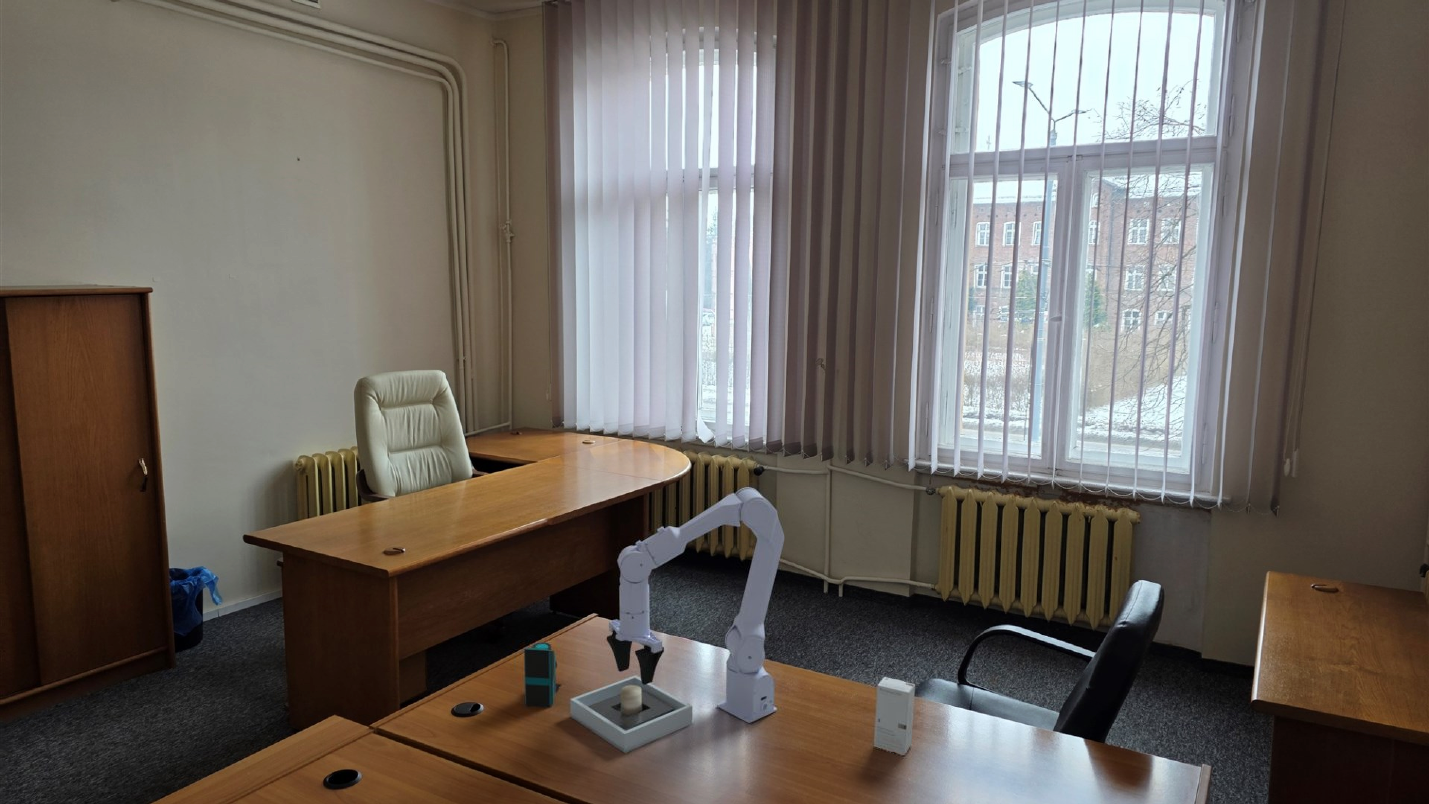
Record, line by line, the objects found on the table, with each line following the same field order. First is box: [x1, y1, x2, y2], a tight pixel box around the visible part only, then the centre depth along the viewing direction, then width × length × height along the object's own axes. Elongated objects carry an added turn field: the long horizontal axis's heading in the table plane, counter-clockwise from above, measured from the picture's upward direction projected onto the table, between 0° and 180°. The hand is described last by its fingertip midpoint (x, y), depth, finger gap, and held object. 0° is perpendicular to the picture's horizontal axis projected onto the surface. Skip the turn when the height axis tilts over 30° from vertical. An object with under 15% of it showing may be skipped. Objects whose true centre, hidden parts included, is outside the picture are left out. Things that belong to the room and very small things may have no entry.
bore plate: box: [587, 690, 674, 731], centre depth 162 cm, size 12×12×2 cm
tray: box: [569, 675, 693, 754], centre depth 162 cm, size 18×16×4 cm
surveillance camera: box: [523, 642, 562, 709], centre depth 171 cm, size 6×12×10 cm
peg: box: [621, 685, 642, 717], centre depth 162 cm, size 4×4×6 cm
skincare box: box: [873, 676, 916, 755], centre depth 152 cm, size 6×4×12 cm
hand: (635, 676), depth 162 cm, fingers open, 7 cm apart
